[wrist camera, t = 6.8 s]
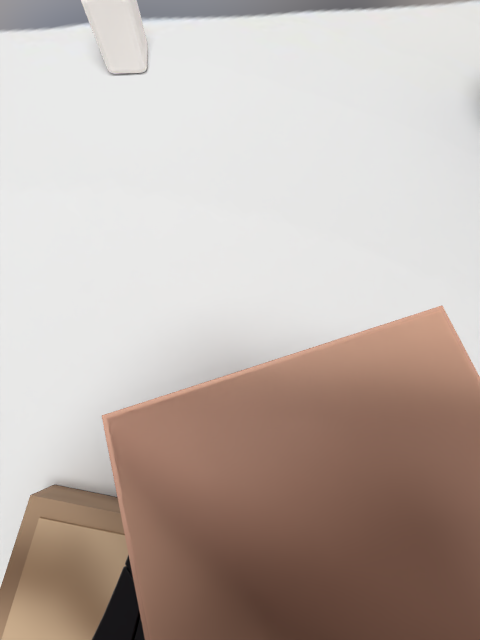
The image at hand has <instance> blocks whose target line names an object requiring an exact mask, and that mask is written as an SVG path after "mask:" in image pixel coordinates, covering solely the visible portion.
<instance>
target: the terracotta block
mask: <svg viewBox="0 0 480 640" xmlns="http://www.w3.org/2000/svg"><path fill="white" fill-rule="evenodd" d="M102 419H103V425H104V430H105V435H106V440H107V445H108V451H109V456H110V461H111V466H112V471H113V476H114V482H115V487H116V492H117V497H118V502H119V508H120V513H121V518H122V523H123V528H124V533H125V539H126V544H127V549H128V554H129V559H130V565H131V570H132V575H133V580H134V585H135V590H136V596H137V601H138V606H139V611H140V616H141V622H142V627H143V632H144V637H145V640H480V377H479V375H478V373H477V371H476V369H475V367H474V365H473V364H472V362H471V360H470V358H469V356H468V354H467V352H466V350H465V348H464V346H463V344H462V342H461V341H460V339H459V337H458V335H457V333H456V331H455V329H454V327H453V325H452V323H451V321H450V320H449V318H448V316H447V314H446V312H445V310H444V308H443V306H439V307H436V308H433V309H430V310H427V311H424V312H421V313H418V314H414V315H411V316H408V317H405V318H402V319H399V320H396V321H393V322H390V323H387V324H384V325H380V326H377V327H374V328H371V329H368V330H365V331H362V332H359V333H356V334H353V335H350V336H346V337H343V338H340V339H337V340H334V341H331V342H328V343H325V344H322V345H319V346H316V347H312V348H309V349H306V350H303V351H300V352H297V353H294V354H291V355H288V356H285V357H282V358H278V359H275V360H272V361H269V362H266V363H263V364H260V365H257V366H254V367H251V368H248V369H244V370H241V371H238V372H235V373H232V374H229V375H226V376H223V377H220V378H217V379H214V380H210V381H207V382H204V383H201V384H198V385H195V386H192V387H189V388H186V389H183V390H180V391H176V392H173V393H170V394H167V395H164V396H161V397H158V398H155V399H152V400H149V401H146V402H143V403H139V404H136V405H133V406H130V407H127V408H124V409H121V410H118V411H115V412H112V413H109V414H105V415H102Z"/></svg>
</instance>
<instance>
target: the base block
mask: <svg viewBox="0 0 480 640" xmlns="http://www.w3.org/2000/svg"><path fill="white" fill-rule="evenodd" d="M128 555H129V554H128V549H127V544H126V539H125V533H124V528H123V523H122V518H121V513H120V508H119V502H118V497H113V496H108V495H103V494H98V493H93V492H88V491H83V490H78V489H73V488H68V487H63V486H58V485H53V486H50V487H48V488H46V489H43V490H41V491H39V492H37V493H34V494H32V495H30V498H29V501H28V505H27V508H26V511H25V514H24V517H23V520H22V523H21V526H20V529H19V532H18V535H17V539H16V542H15V545H14V548H13V551H12V554H11V557H10V560H9V563H8V566H7V570H6V573H5V576H4V579H3V582H2V585H1V588H0V640H92V638H93V636H94V634H95V632H96V629H97V627H98V625H99V623H100V621H101V619H102V617H103V615H104V612H105V610H106V608H107V605H108V603H109V601H110V598H111V596H112V594H113V591H114V589H115V587H116V584H117V582H118V579H119V577H120V574H121V572H122V569H123V567H124V566H126V565H125V562H126V560H127V557H128Z"/></svg>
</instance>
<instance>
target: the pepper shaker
mask: <svg viewBox="0 0 480 640" xmlns="http://www.w3.org/2000/svg"><path fill="white" fill-rule="evenodd" d="M81 2H82V5H83V7H84V10H85V13H86V15H87V17H88V20H89V23H90V26H91V28H92V31H93V33H94V36H95V38H96V41H97V44H98V46H99V49H100V51H101V54H102V57H103V59H104V62H105V64H106V67H107V69H108V70H109V72H110V73H113V74H120V73H142V72H145V71H146V69H147V46H148V44H147V40H146V36H145V32H144V28H143V24H142V20H141V16H140V12H139V8H138V4H137V0H81Z"/></svg>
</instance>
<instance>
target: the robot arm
mask: <svg viewBox="0 0 480 640" xmlns="http://www.w3.org/2000/svg"><path fill="white" fill-rule="evenodd" d="M125 565H126V566H124V567H123V569H122V572H121V574H120V577H119V579H118V582H117V584H116V587H115V589H114V591H113V594H112V596H111V598H110V601H109V603H108V605H107V608H106V610H105V612H104V615H103V617H102V619H101V621H100V623H99V625H98V627H97V629H96V632H95V634H94V636H93V638H92V640H145V637H144V632H143V627H142V622H141V616H140V611H139V606H138V601H137V596H136V590H135V585H134V580H133V575H132V570H131V565H130V559H129V555H128V557H127V560H126V562H125Z"/></svg>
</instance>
